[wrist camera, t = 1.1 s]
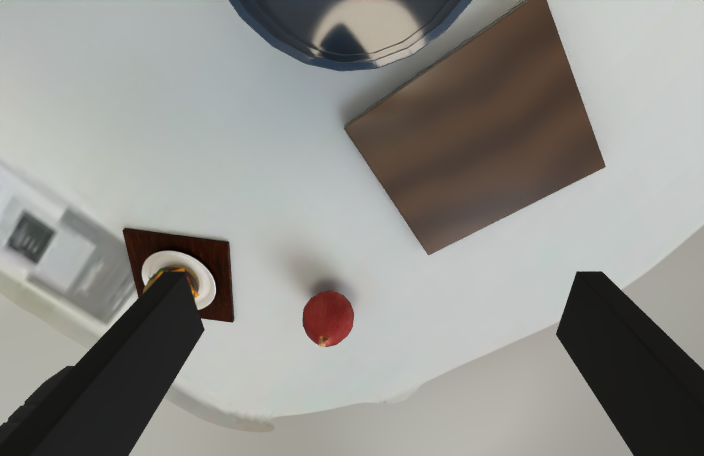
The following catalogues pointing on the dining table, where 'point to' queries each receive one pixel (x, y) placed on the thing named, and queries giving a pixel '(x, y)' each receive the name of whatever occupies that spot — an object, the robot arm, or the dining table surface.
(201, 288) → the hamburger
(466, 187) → the board
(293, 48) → the bowl
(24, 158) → the dining table surface
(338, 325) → the onion
